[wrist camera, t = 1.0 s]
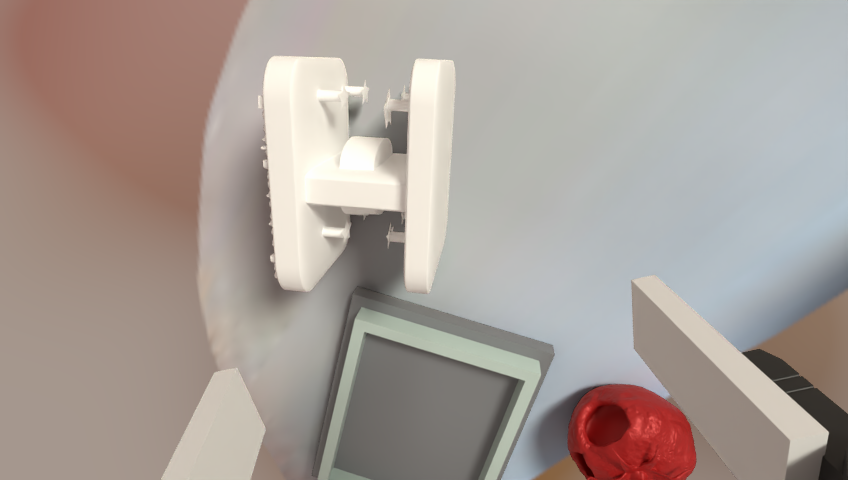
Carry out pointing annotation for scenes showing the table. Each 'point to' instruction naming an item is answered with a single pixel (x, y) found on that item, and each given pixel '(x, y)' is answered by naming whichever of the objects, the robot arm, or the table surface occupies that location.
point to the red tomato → (630, 436)
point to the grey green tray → (426, 395)
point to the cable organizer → (353, 167)
